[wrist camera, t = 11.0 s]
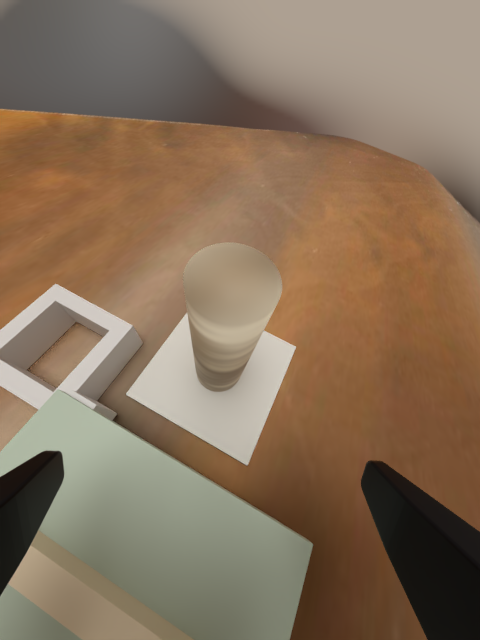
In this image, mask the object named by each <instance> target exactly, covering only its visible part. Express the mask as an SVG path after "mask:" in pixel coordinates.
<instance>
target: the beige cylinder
mask: <svg viewBox="0 0 480 640" xmlns="http://www.w3.org/2000/svg"><path fill="white" fill-rule="evenodd" d="M183 287H184V294H185V301H186V307H187V314H188V321H189V328H190V334H191V341H192V348H193V355H194V361H195V368H196V374H197V378H198V380H199V382H200V383H201V384H202V385H203V386H204V387H205V388H206V389H208V390H211V391H214V392H223V391H227V390H229V389H231V388H232V387H233V386H234V385H235V384H236V383H237V382H238V380H239V378H240V376H241V374H242V372H243V370H244V369H245V367H246V365H247V363H248V361H249V359H250V357H251V355H252V353H253V351H254V349H255V347H256V345H257V343H258V341H259V339H260V337H261V335H262V333H263V331H264V329H265V327H266V325H267V323H268V321H269V319H270V317H271V315H272V313H273V311H274V309H275V307H276V305H277V303H278V301H279V299H280V296H281V292H282V280H281V276H280V273H279V271H278V269H277V267H276V266H275V264H274V263H273V262H272V261H271V260H270V259H269V258H268V257H267V256H266V255H265V254H263V253H262V252H260V251H259V250H257V249H255V248H253V247H250V246H247V245H244V244H239V243H218V244H214V245H210V246H208V247H205V248H203V249H202V250H200V251H198V252H197V253H196V254H195V255H194V256H193V257H192V258H191V259H190V260H189V262H188V263H187V265H186V267H185V270H184V273H183Z"/></svg>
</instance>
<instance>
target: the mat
mask: <svg viewBox="0 0 480 640" xmlns="http://www.w3.org/2000/svg"><path fill="white" fill-rule="evenodd" d="M295 349H296V347H295V346H293V345H291V344H289V343H287V342H285V341H283V340H282V339H280V338H278V337H276V336H274V335H272V334H270V333H268V332H266V331H263V333H262V335H261V337H260V339H259V341H258V343H257V345H256V347H255V349H254V351H253V353H252V355H251V357H250V359H249V361H248V363H247V365H246V367H245V369H244V370H243V372H242V374H241V376H240V378H239V380H238V382H237V383H236V384H235V385H234V386H233V387H232V388H231V389H229V390H227V391H223V392H214V391H211V390H208V389H206V388H205V387H204V386H203V385H202V384H201V383H200V382H199V380H198V378H197V374H196V368H195V361H194V355H193V348H192V341H191V334H190V328H189V321H188V314H187V313H186V315H185V316H184V317H183V319H182V320H181V321H180V323H179V324H178V325H177V327H176V328H175V329H174V331H173V332H172V333H171V335H170V336H169V337H168V339H167V340H166V341H165V343H164V344H163V345H162V347H161V348H160V349H159V351H158V352H157V353H156V355H155V356H154V357H153V359H152V360H151V361H150V363H149V364H148V365H147V367H146V368H145V369H144V371H143V372H142V373H141V375H140V376H139V377H138V379H137V380H136V381H135V383H134V384H133V385H132V387H131V388H130V389H129V391H128V392H127V393H126V395H127V396H129V397H131V398H132V399H134V400H136V401H138V402H139V403H141V404H143V405H144V406H146V407H148V408H150V409H151V410H153V411H155V412H156V413H158V414H160V415H161V416H163V417H165V418H167V419H168V420H170V421H172V422H173V423H175V424H177V425H179V426H180V427H182V428H184V429H185V430H187V431H189V432H190V433H192V434H194V435H196V436H197V437H199V438H201V439H202V440H204V441H206V442H208V443H209V444H211V445H213V446H214V447H216V448H218V449H219V450H221V451H223V452H225V453H226V454H228V455H230V456H231V457H233V458H235V459H237V460H238V461H240V462H242V463H243V464H245V465H248V463H249V461H250V458H251V456H252V453H253V451H254V448H255V446H256V444H257V441H258V439H259V436H260V434H261V431H262V429H263V426H264V424H265V422H266V419H267V417H268V414H269V412H270V409H271V407H272V405H273V402H274V400H275V397H276V395H277V392H278V390H279V388H280V385H281V383H282V380H283V378H284V375H285V373H286V371H287V368H288V366H289V363H290V361H291V358H292V356H293V353H294V351H295Z"/></svg>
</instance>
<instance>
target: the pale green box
mask: <svg viewBox="0 0 480 640" xmlns="http://www.w3.org/2000/svg"><path fill="white" fill-rule="evenodd" d="M75 322H78V323H80V324H82V325H83V326H85V327H87V328H89V329H91V330H92V331H94V332H96V333H98V334H99V335H101V336H103V338H102V339H101V341H100V342H99V343H98V344H97V345H96V346H95V347H94V348H93V349H92V350H91V352H90V353H89V354H88V355H87V356H86V357H85V358H84V359H83V360H82V361H81V362H80V364H79V365H78V366H77V367H76V368H75V369H74V370H73V371H72V372H71V373H70V374H69V376H68V377H67V378H66V379H65V380H64V381H63V382H62V383H61V384H60V385H59V387H58V388H55V387H54V386H52V385H50V384H49V383H47V382H45V381H44V380H42V379H40V378H39V377H37V376H35V375H34V374H32V373H30V372H29V371H27V369H28V368H29V367H30V366H31V365H32V364H33V363H34V362H36V361H37V360H38V359H39V358H40V357H41V356H42V355H43V354H44V353H45V352H46V351H47V350H48V349H49V348H50V347H51V346H52V345H53V344H54V343H55V342H56V341H57V340H58V339H59V338H60V337H61V336H62V335H63V334H64V333H65V332H66V331H67V330H68V329H69V328H70V327H71V326H72V325H73V324H74V323H75ZM142 344H143V342H142V340H141V339H140V337H139V335H138V333H137V332H136V330H135V328H134V327H133V325H131V324H129V323H127V322H125V321H123V320H121V319H120V318H118V317H116V316H114V315H112V314H110V313H109V312H107V311H105V310H103V309H101V308H99V307H98V306H96V305H94V304H92V303H90V302H88V301H86V300H85V299H83V298H81V297H79V296H77V295H75V294H74V293H72V292H70V291H68V290H66V289H64V288H63V287H61V286H59V285H57V284H55V285H54V286H52V287H51V288H50V289H49V290H48V291H46V292H45V293H44V294H43V295H42V296H40V297H39V298H38V299H37V300H36V301H34V302H33V303H32V304H31V305H30V306H28V307H27V308H26V309H25V310H24V311H22V312H21V313H20V314H19V315H18V316H16V317H15V318H14V319H13V320H12V321H10V322H9V323H8V324H7V325H6V326H4V327H3V328H2V329H1V330H0V386H2V387H3V388H5V389H6V390H8V391H10V392H11V393H13V394H14V395H16V396H18V397H19V398H21V399H22V400H24V401H26V402H27V403H29V404H30V405H32V406H34V407H35V408H37V409H38V411H37V412H36V413H35V414H34V416H33V417H32V418H31V419H30V420H29V421H28V422H27V423H26V424H25V425H24V427H23V428H22V429H21V430H20V431H19V432H18V433H17V434H16V435H15V436H14V437H13V439H12V440H11V441H10V442H9V443H8V444H7V445H6V446H5V447H4V448H3V450H2V451H1V452H0V477H1V476H2V475H4V474H6V473H7V472H9V471H11V470H12V469H14V468H16V467H17V466H19V465H21V464H22V463H24V462H26V461H27V460H29V459H31V458H32V457H34V456H36V455H37V454H39V453H41V452H43V451H46V450H51V451H61V453H62V455H63V464H64V479H63V482H62V485H61V487H60V489H59V491H58V492H57V494H56V496H55V498H54V500H53V502H52V504H51V506H50V508H49V510H48V512H47V514H46V516H45V518H44V520H43V522H42V524H41V526H40V528H39V530H38V532H37V534H36V536H35V538H34V540H33V542H32V543H31V545H30V547H29V549H28V551H27V553H26V555H25V556H24V558H23V560H22V561H21V563H20V565H19V566H18V568H17V570H16V571H15V573H14V575H13V576H12V578H11V580H10V581H9V583H8V585H7V586H6V588H5V589H4V591H3V593H2V594H1V596H0V640H290V636H291V632H292V628H293V624H294V620H295V616H296V612H297V608H298V604H299V600H300V596H301V592H302V587H303V583H304V579H305V575H306V571H307V567H308V563H309V559H310V555H311V551H312V547H313V544H312V543H311V542H310V541H309V540H308V539H306V538H305V537H303V536H301V535H300V534H298V533H296V532H295V531H293V530H291V529H290V528H288V527H287V526H285V525H283V524H282V523H280V522H279V521H277V520H276V519H274V518H272V517H271V516H269V515H268V514H266V513H264V512H263V511H261V510H259V509H258V508H256V507H254V506H253V505H251V504H249V503H248V502H246V501H244V500H243V499H241V498H239V497H238V496H236V495H235V494H233V493H231V492H230V491H228V490H226V489H225V488H223V487H221V486H220V485H218V484H216V483H215V482H213V481H211V480H210V479H208V478H206V477H205V476H203V475H202V474H200V473H198V472H197V471H195V470H193V469H192V468H190V467H188V466H187V465H185V464H183V463H182V462H180V461H178V460H177V459H175V458H173V457H172V456H170V455H169V454H167V453H165V452H164V451H162V450H160V449H159V448H157V447H155V446H154V445H152V444H150V443H149V442H147V441H145V440H144V439H142V438H141V437H139V436H137V435H136V434H134V433H132V432H131V431H129V430H127V429H126V428H124V427H122V426H121V425H119V424H117V423H116V422H114V421H112V420H113V419H114V418H115V416H116V415H117V414H118V413H116V412H114V411H113V410H111V409H109V408H108V407H106V406H104V405H103V404H101V403H99V402H98V401H97V400H98V399H99V398H100V397H101V395H102V394H103V393H104V392H105V390H106V389H107V388H108V387H109V385H110V384H111V383H112V382H113V380H114V379H115V378H116V377H117V375H118V374H119V373H120V372H121V370H122V369H123V368H124V367H125V365H126V364H127V363H128V362H129V360H130V359H131V358H132V357H133V355H134V354H135V353H136V352H137V350H138V349H139V348H140V347H141V345H142Z"/></svg>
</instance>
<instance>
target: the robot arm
mask: <svg viewBox="0 0 480 640" xmlns="http://www.w3.org/2000/svg"><path fill="white" fill-rule="evenodd" d="M63 479H64V464H63V455H62V453H61V451H51V450H46V451H43V452H41V453H39V454H37V455H36V456H34V457H32V458H31V459H29V460H27V461H26V462H24V463H22V464H21V465H19V466H17V467H16V468H14V469H12V470H11V471H9V472H7V473H6V474H4V475H2V476H1V477H0V596H1V594H2V593H3V591H4V589H5V588H6V586H7V585H8V583H9V581H10V580H11V578H12V576H13V575H14V573H15V571H16V570H17V568H18V566H19V565H20V563H21V561H22V560H23V558H24V556H25V555H26V553H27V551H28V549H29V547H30V545H31V543H32V542H33V540H34V538H35V536H36V534H37V532H38V530H39V528H40V526H41V524H42V522H43V520H44V518H45V516H46V514H47V512H48V510H49V508H50V506H51V504H52V502H53V500H54V498H55V496H56V494H57V492H58V491H59V489H60V487H61V485H62V482H63ZM361 487H362V490H363V493H364V496H365V498H366V501H367V504H368V506H369V509H370V511H371V514H372V517H373V519H374V522H375V524H376V527H377V530H378V532H379V535H380V537H381V540H382V542H383V545H384V547H385V550H386V552H387V554H388V556H389V559H390V561H391V563H392V565H393V567H394V569H395V571H396V574H397V576H398V578H399V580H400V582H401V584H402V586H403V588H404V591H405V593H406V595H407V597H408V599H409V601H410V603H411V605H412V607H413V610H414V612H415V614H416V616H417V618H418V620H419V622H420V624H421V627H422V629H423V631H424V633H425V635H426V637H427V639H428V640H480V532H479V531H478V530H476V529H475V528H474V527H472V526H471V525H470V524H468V523H467V522H465V521H464V520H463V519H461V518H460V517H458V516H457V515H456V514H454V513H453V512H452V511H450V510H449V509H447V508H446V507H445V506H443V505H442V504H441V503H439V502H438V501H436V500H435V499H434V498H432V497H431V496H429V495H428V494H427V493H425V492H424V491H423V490H421V489H420V488H418V487H417V486H416V485H414V484H413V483H412V482H410V481H409V480H407V479H406V478H405V477H403V476H402V475H400V474H399V473H398V472H396V471H395V470H394V469H392V468H391V467H389V466H388V465H387V464H385V463H384V462H382V461H368V462H367V463H366V466H365V469H364V473H363V476H362V479H361Z"/></svg>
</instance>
